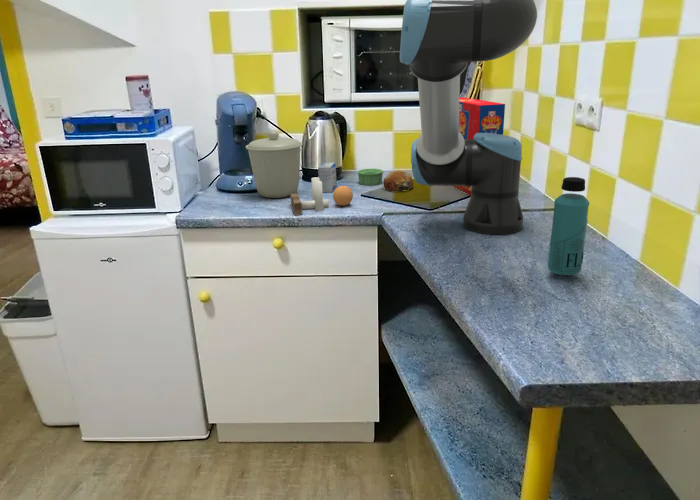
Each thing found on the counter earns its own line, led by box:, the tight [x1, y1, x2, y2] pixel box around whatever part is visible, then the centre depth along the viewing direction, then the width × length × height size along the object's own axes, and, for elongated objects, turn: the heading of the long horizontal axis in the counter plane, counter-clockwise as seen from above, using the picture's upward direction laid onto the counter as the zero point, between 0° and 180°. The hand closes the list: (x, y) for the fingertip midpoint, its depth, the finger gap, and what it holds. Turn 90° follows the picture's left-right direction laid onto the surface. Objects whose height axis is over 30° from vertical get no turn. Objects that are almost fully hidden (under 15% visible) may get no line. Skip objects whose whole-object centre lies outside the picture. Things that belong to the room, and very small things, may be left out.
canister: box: [245, 129, 303, 199], centre depth 172 cm, size 18×18×21 cm
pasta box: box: [452, 97, 506, 196], centre depth 172 cm, size 28×8×28 cm, turn 14°
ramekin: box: [357, 168, 384, 187], centre depth 187 cm, size 9×9×4 cm
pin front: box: [300, 198, 330, 210], centre depth 159 cm, size 2×2×8 cm
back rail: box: [290, 192, 303, 216], centre depth 158 cm, size 12×2×4 cm, turn 11°
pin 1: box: [310, 176, 320, 201], centre depth 160 cm, size 2×2×8 cm
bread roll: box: [383, 169, 414, 192], centre depth 178 cm, size 10×10×8 cm
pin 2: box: [314, 181, 324, 212], centre depth 156 cm, size 2×2×8 cm
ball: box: [332, 185, 354, 207], centre depth 160 cm, size 6×6×6 cm
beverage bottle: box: [547, 176, 590, 276], centre depth 103 cm, size 6×7×20 cm
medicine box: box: [317, 161, 338, 194], centre depth 178 cm, size 8×4×9 cm, turn 170°
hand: (446, 121), depth 149 cm, fingers closed
